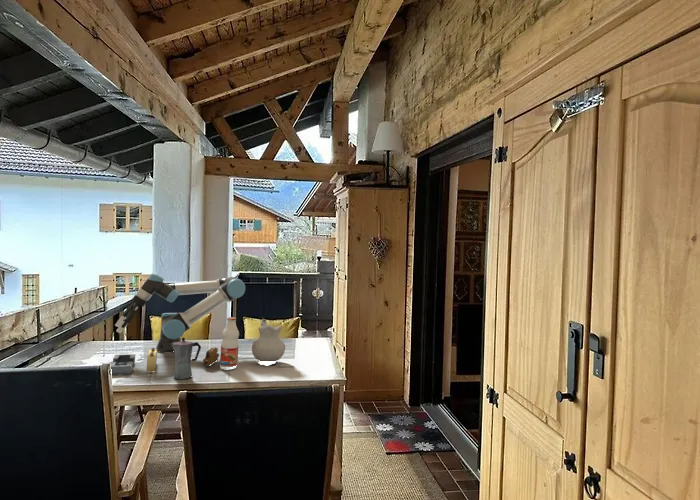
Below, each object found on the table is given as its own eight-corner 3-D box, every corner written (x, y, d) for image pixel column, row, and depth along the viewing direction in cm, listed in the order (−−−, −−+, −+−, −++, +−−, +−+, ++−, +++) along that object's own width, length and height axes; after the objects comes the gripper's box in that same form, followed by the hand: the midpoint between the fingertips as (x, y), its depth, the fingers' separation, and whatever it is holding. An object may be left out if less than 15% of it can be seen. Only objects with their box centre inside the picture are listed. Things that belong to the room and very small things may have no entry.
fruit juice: (240, 367, 244) (243, 317, 244) (230, 371, 236) (233, 320, 235) (226, 364, 248) (230, 315, 248) (215, 368, 239) (219, 317, 239)
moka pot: (171, 373, 225) (173, 335, 225) (201, 374, 227) (204, 336, 227) (164, 379, 216) (167, 339, 216) (196, 380, 217) (199, 340, 217)
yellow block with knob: (148, 364, 240) (149, 347, 239) (156, 363, 241) (157, 346, 241) (146, 372, 226) (147, 353, 225) (154, 371, 227) (155, 353, 227)
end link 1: (114, 362, 237) (115, 354, 237) (134, 362, 241) (135, 354, 241) (112, 367, 230) (113, 358, 230) (133, 366, 233) (134, 358, 233)
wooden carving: (211, 361, 252) (212, 344, 252) (219, 362, 252) (220, 344, 252) (200, 369, 236) (201, 351, 236) (209, 370, 236) (210, 351, 236)
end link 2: (130, 374, 219) (131, 365, 219) (108, 375, 216) (108, 366, 216) (132, 370, 227) (132, 361, 227) (110, 371, 223) (111, 362, 223)
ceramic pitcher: (242, 362, 259) (242, 321, 257) (269, 355, 273) (269, 316, 271) (264, 371, 244) (264, 327, 242) (291, 363, 258) (292, 322, 256)
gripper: (133, 290, 260) (110, 321, 255) (137, 298, 239) (112, 331, 234) (145, 297, 264) (122, 327, 259) (150, 305, 242) (125, 338, 237)
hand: (117, 329), depth 246 cm, fingers open, 13 cm apart
